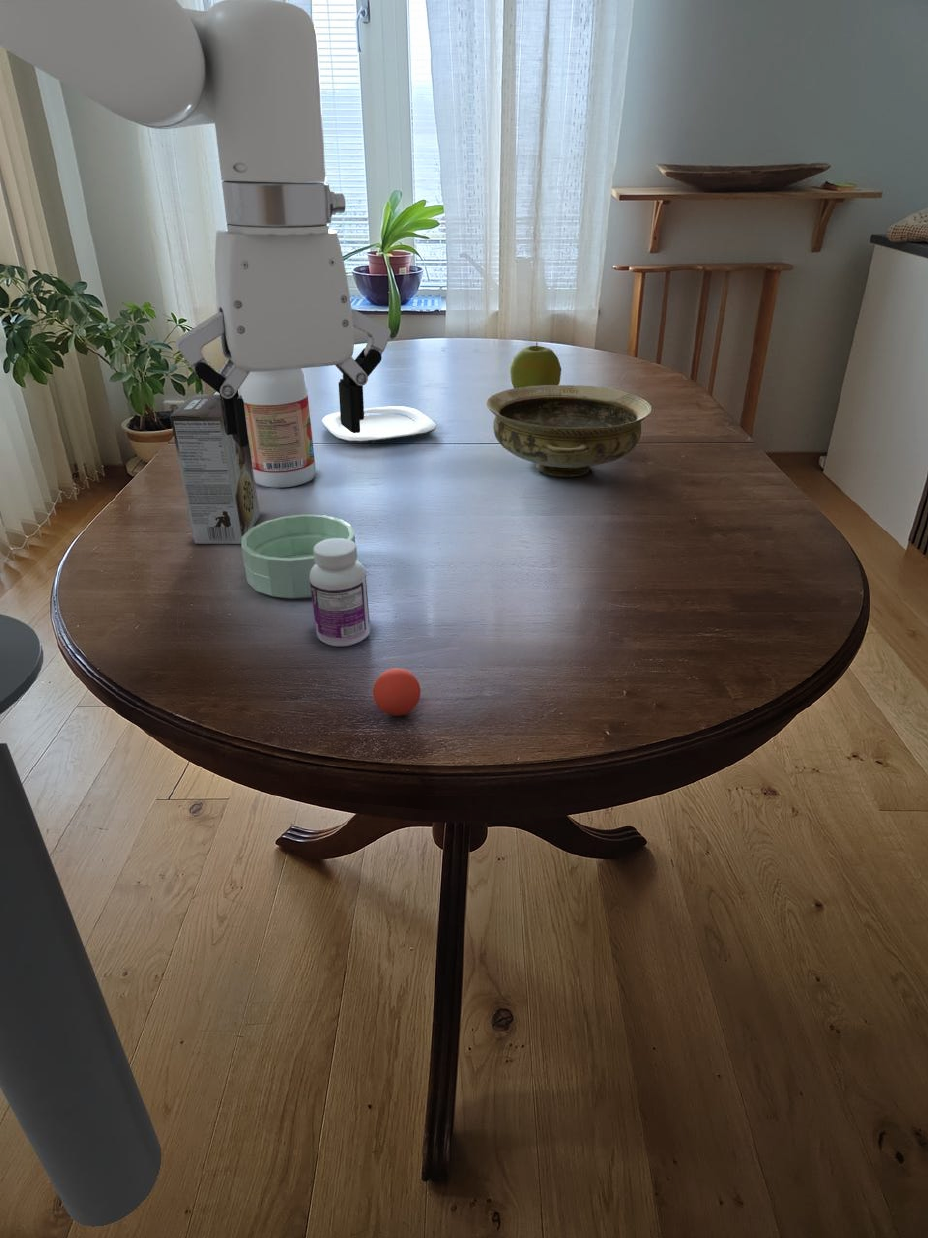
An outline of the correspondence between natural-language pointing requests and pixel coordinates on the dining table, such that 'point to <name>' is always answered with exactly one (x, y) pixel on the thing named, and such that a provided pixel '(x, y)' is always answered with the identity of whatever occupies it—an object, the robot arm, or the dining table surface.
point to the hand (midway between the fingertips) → (297, 435)
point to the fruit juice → (279, 427)
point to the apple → (535, 367)
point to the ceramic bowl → (567, 425)
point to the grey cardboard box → (214, 473)
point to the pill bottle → (339, 593)
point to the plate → (382, 425)
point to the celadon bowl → (287, 552)
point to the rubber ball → (396, 691)
